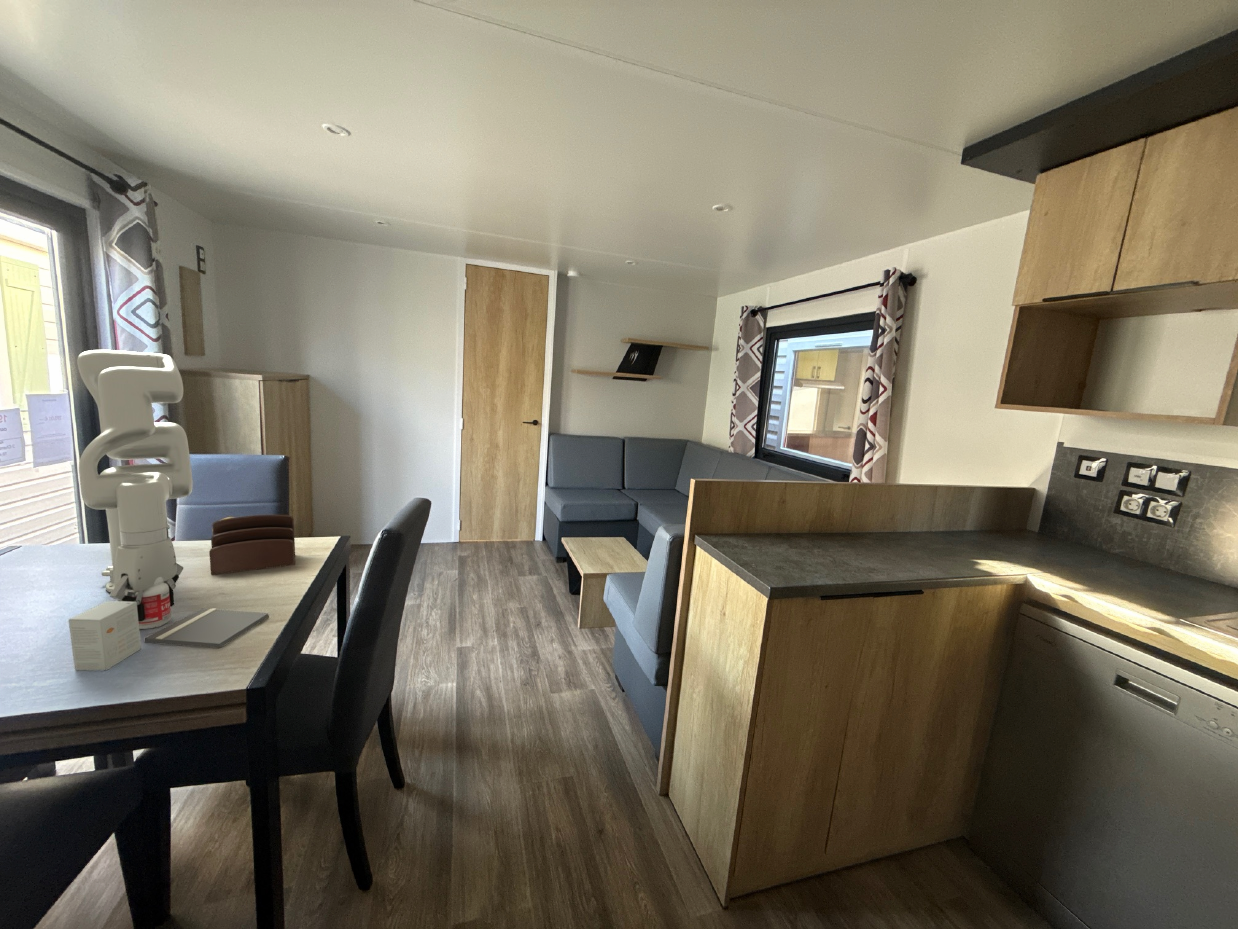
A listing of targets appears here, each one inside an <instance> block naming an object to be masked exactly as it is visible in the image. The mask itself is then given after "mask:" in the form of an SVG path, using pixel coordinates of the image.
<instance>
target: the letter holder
mask: <svg viewBox="0 0 1238 929" xmlns="http://www.w3.org/2000/svg"><path fill="white" fill-rule="evenodd" d="M222 519H223V520H221V519H220V520H219V519H218V520H215V521H213V523H212V525H211V526H212V528H213V532H212V536H211V538H210V540H211V543H210V544H211V548H210V549H209V552H208V553H209V562H210V564H209V567H210V575H212V576H213V575H222V574H230V573H238V572H239V573H240V572H246V571H255V570H262V569H270V568H278V567H279V568H280V567H287V566H295V565H296V544H295V539H296V538H295V521H294V517H293V516H292V515H288V514H257V515H256V514H255V515H245V516H238V517H235V518H229V519H224V518H222Z"/></svg>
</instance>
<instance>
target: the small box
mask: <svg viewBox="0 0 1238 929" xmlns="http://www.w3.org/2000/svg"><path fill="white" fill-rule="evenodd" d="M68 626H69V627H68V628H69V634H70V642H71V650H72V657H73V664H74V670H75V671H95V670H106V671H108V670H110V668H113V667H114V666H116V665H117V664H119V663H120V662H123V661H124V660H125V659H127V658H129V657H130V656H132V655H133V654H135V653H136V652H138V651H139V650H141V649H142V644H141V634H140V633H141V632H140V629H139V622H138V612H137V602H127V601H118V600H106V601H104V602H102V603H100V604H98V605H96V606H94V607H92V608H89V609H88V610H85V611H83V612H82V613H80V614H76V615H75V616H73V617H70V618H69V619H68Z"/></svg>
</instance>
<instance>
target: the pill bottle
mask: <svg viewBox="0 0 1238 929" xmlns="http://www.w3.org/2000/svg"><path fill="white" fill-rule="evenodd" d="M154 584H155V586H153V587H151V588H148V589H146V590H144V592H143V595H142V599H141V602H140V603H143V604H144V612H145V620H143V621H138V622H139V630H147V629H154V628H159V627H161V626H163V625H166V624H168V623H169V622H170V621H171V619H172V611H171V610H172V607H170V596H169V586H168V585H167V584H166V583H164V582H163V578H162V577H159V578H157V579H156V580H155V582H154ZM132 597H133V598H134V597H135V593H134V592H133V594H132Z"/></svg>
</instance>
